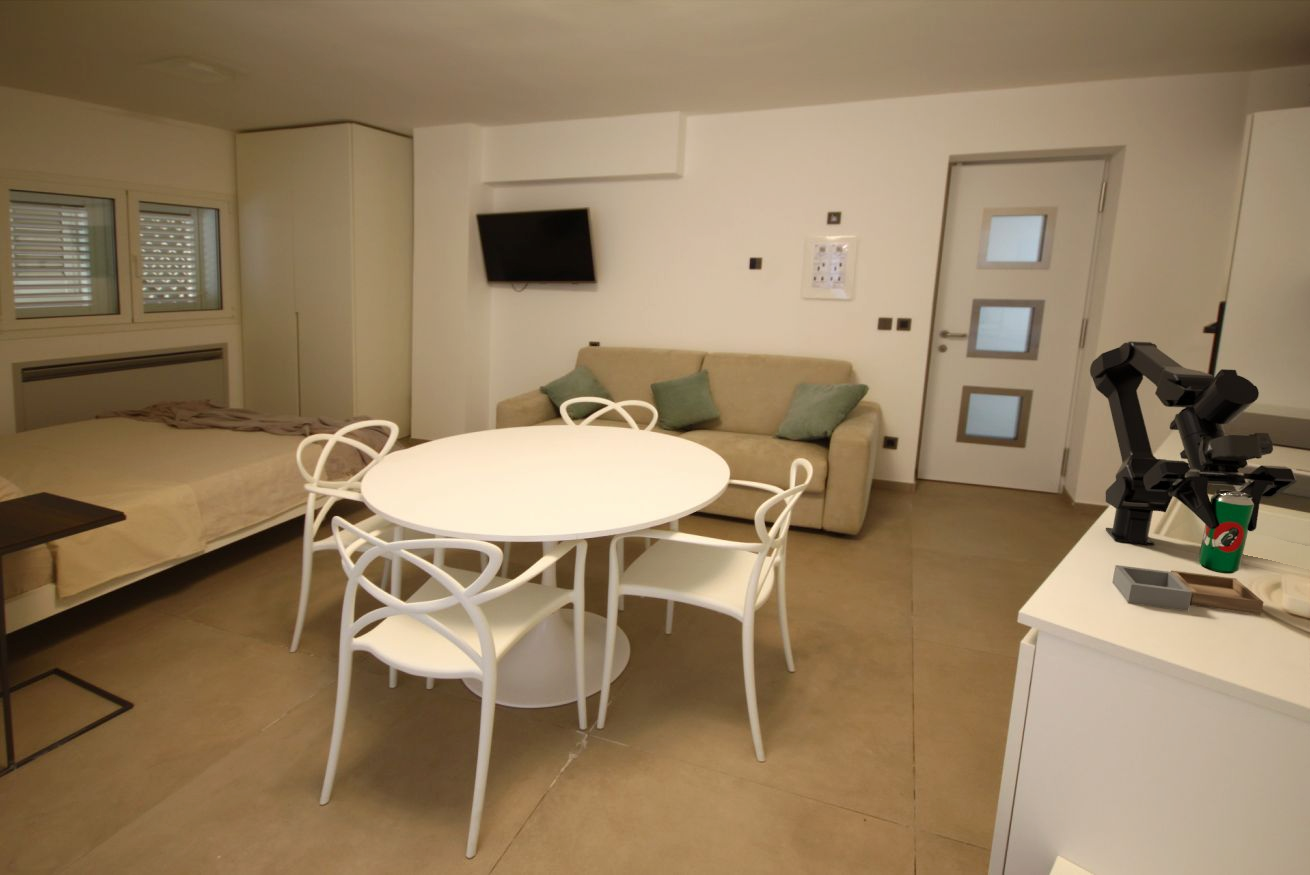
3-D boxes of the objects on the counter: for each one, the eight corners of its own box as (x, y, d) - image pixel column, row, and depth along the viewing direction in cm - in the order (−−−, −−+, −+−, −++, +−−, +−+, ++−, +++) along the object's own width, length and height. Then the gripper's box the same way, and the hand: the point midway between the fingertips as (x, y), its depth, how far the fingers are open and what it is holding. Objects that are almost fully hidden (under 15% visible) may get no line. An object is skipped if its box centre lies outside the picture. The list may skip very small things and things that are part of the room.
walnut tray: (1168, 581, 115) (1171, 570, 115) (1233, 590, 113) (1235, 578, 112) (1190, 605, 107) (1193, 592, 107) (1260, 614, 105) (1263, 601, 104)
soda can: (1247, 574, 107) (1264, 498, 104) (1218, 575, 106) (1235, 499, 103) (1216, 561, 112) (1232, 488, 109) (1188, 562, 111) (1204, 489, 108)
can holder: (1112, 582, 115) (1115, 564, 114) (1168, 589, 112) (1171, 571, 112) (1128, 602, 107) (1131, 584, 107) (1188, 611, 105) (1192, 592, 104)
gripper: (1167, 409, 109) (1195, 500, 101) (1303, 415, 106) (1342, 509, 98) (1132, 446, 118) (1154, 532, 110) (1256, 453, 116) (1288, 541, 108)
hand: (1233, 528), depth 106 cm, fingers closed on soda can, 5 cm apart
